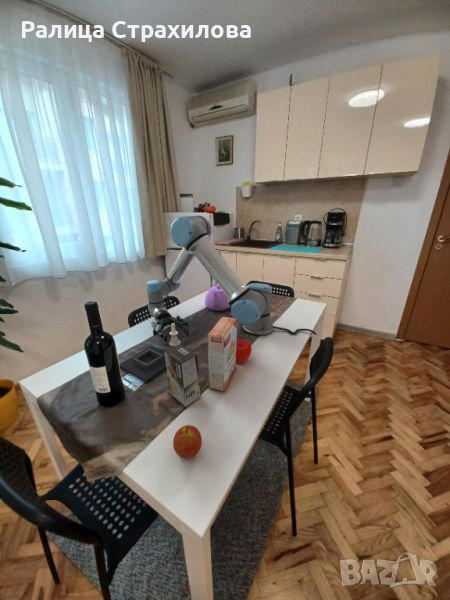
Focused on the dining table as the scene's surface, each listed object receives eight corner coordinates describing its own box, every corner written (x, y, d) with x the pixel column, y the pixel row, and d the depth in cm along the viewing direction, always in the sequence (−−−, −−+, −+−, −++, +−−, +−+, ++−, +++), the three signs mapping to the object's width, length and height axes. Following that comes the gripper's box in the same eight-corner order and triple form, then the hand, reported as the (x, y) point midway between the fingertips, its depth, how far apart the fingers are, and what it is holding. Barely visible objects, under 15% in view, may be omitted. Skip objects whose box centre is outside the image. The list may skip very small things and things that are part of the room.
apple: (247, 369, 90) (248, 351, 87) (225, 364, 93) (225, 347, 90) (253, 356, 98) (254, 339, 95) (233, 352, 100) (233, 335, 97)
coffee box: (201, 396, 77) (199, 354, 71) (185, 407, 73) (181, 364, 67) (183, 383, 83) (180, 343, 77) (168, 392, 79) (163, 351, 73)
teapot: (208, 298, 158) (207, 278, 153) (235, 299, 156) (235, 279, 151) (200, 314, 135) (198, 291, 130) (231, 316, 133) (231, 293, 128)
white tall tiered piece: (171, 347, 104) (169, 326, 100) (166, 342, 108) (164, 322, 104) (182, 344, 106) (181, 323, 103) (177, 339, 110) (175, 318, 107)
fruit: (178, 470, 56) (175, 446, 53) (171, 445, 61) (168, 422, 58) (206, 457, 58) (205, 434, 55) (197, 434, 64) (195, 412, 61)
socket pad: (178, 359, 96) (178, 353, 95) (146, 382, 83) (145, 375, 82) (151, 347, 104) (150, 341, 103) (119, 367, 91) (117, 360, 90)
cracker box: (225, 392, 79) (224, 337, 71) (208, 388, 80) (206, 334, 73) (236, 367, 91) (237, 318, 83) (222, 364, 93) (221, 315, 85)
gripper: (183, 318, 126) (200, 337, 108) (140, 328, 116) (152, 350, 98) (182, 305, 123) (200, 322, 105) (138, 314, 113) (150, 334, 95)
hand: (177, 336), depth 101 cm, fingers open, 9 cm apart
